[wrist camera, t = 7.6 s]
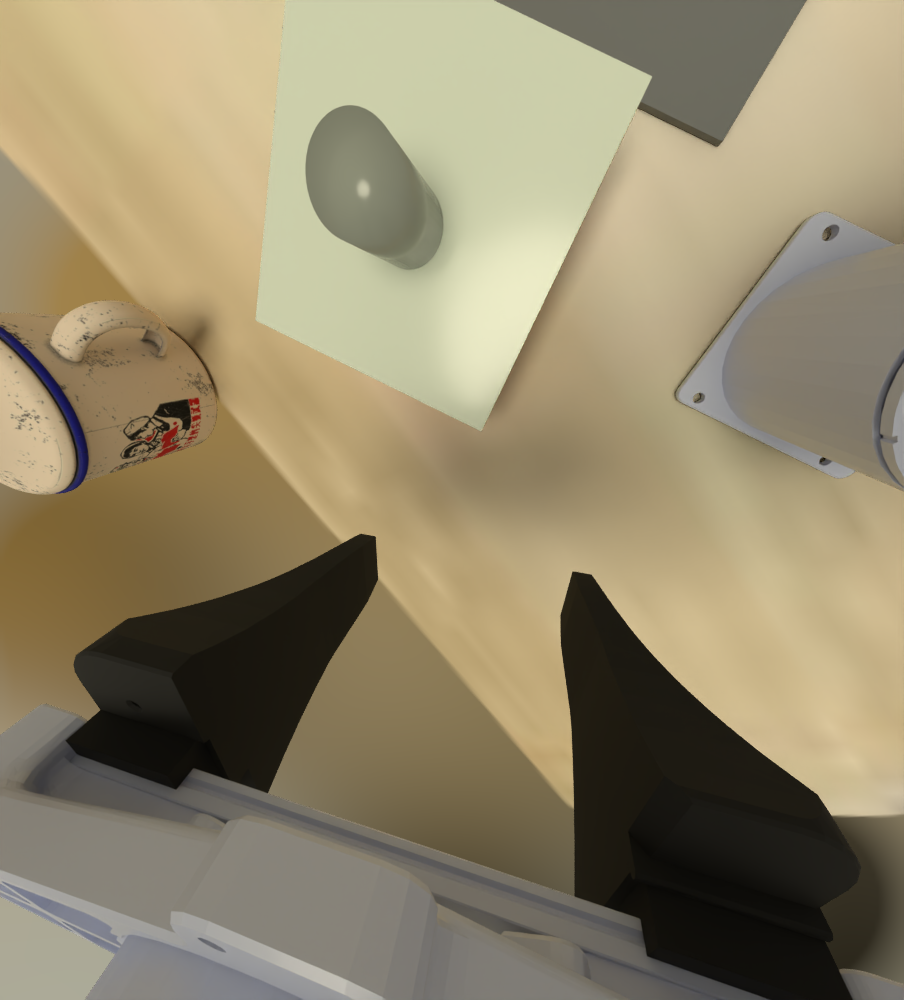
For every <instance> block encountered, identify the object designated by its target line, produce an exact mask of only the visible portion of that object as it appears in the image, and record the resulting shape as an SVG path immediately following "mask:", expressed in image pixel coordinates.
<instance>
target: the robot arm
mask: <svg viewBox="0 0 904 1000" xmlns="http://www.w3.org/2000/svg"><path fill="white" fill-rule="evenodd" d="M827 227H828V228H830V229H831V236H830V238H829V239H828V240H827V241H824V240H823V239H822V234H823V232H824V230H825V229H826V228H827ZM697 393H701V396H702V397H701V399H700V400H699V401H697V402H693V397H694V395H696V394H697ZM676 398H677V400H678V401H679V402H681V403H683V404H685V405H687V406H689V407H691V408H693V409H695V410H697V411H699V412H701V413H703V414H705V415H708V416H710V417H712V418H714V419H716V420H718V421H720V422H722V423H724V424H726V425H728V426H730V427H732V428H734V429H736V430H738V431H740V432H742V433H744V434H746V435H748V436H750V437H752V438H754V439H756V440H758V441H761V442H763V443H765V444H767V445H769V446H771V447H773V448H775V449H777V450H779V451H781V452H783V453H785V454H787V455H789V456H791V457H793V458H795V459H797V460H799V461H801V462H803V463H805V464H807V465H809V466H811V467H814V468H816V469H818V470H820V471H822V472H824V473H826V474H828V475H830V476H832V477H834V478H845V477H848V476H849V475H851V474H853V473H854V472H855V471H857V472H859V473H862V474H864V475H866V476H869V477H871V478H874V479H876V480H878V481H881V482H883V483H885V484H888V485H890V486H892V487H895V488H897V489H899V490H902V491H904V243H902V244H898V245H896V244H894V243H892V242H890V241H888V240H886V239H884V238H881V237H879V236H877V235H875V234H873V233H871V232H869V231H867V230H865V229H863V228H861V227H859V226H857V225H855V224H853V223H851V222H849V221H847V220H844V219H842V218H840V217H838V216H836V215H834V214H832V213H830V212H821V213H817V214H815V215H813V216H811V217H809V218H808V219H806V220H805V221H804V222H803V223H802V224H801V226H800V227H799V228H798V230H797V231H796V232H795V234H794V235H793V236H792V238H791V239H790V240H789V242H788V243H787V244H786V246H785V247H784V248H783V250H782V251H781V252H780V254H779V255H778V256H777V258H776V259H775V260H774V262H773V263H772V264H771V266H770V267H769V268H768V270H767V271H766V272H765V274H764V275H763V276H762V278H761V279H760V280H759V282H758V283H757V284H756V286H755V287H754V288H753V290H752V291H751V292H750V294H749V295H748V296H747V298H746V299H745V300H744V301H743V303H742V304H741V305H740V307H739V308H738V309H737V311H736V312H735V313H734V315H733V316H732V317H731V319H730V320H729V321H728V323H727V324H726V325H725V327H724V328H723V329H722V331H721V332H720V333H719V335H718V336H717V337H716V339H715V340H714V341H713V343H712V344H711V345H710V347H709V348H708V349H707V351H706V352H705V353H704V355H703V356H702V357H701V359H700V360H699V361H698V363H697V364H696V365H695V367H694V368H693V369H692V371H691V372H690V373H689V374H688V376H687V377H686V378H685V380H684V381H683V382H682V384H681V385H680V386H679V388H678V389H677V391H676ZM822 457H824V458H826V459H825V460H824V461H823V462H821V463H819V460H820V459H821V458H822ZM377 580H378V570H377V553H376V537H375V536H370V535H364V534H359V535H357V536H355V537H353V538H351V539H350V540H348V541H346V542H344V543H342V544H340V545H339V546H337V547H335V548H333V549H331V550H330V551H328V552H326V553H324V554H322V555H320V556H318V557H317V558H315V559H313V560H311V561H309V562H307V563H305V564H303V565H301V566H299V567H297V568H295V569H293V570H291V571H289V572H286V573H284V574H282V575H280V576H277V577H275V578H273V579H270V580H268V581H265V582H263V583H260V584H258V585H255V586H252V587H249V588H246V589H244V590H240V591H237V592H234V593H231V594H228V595H225V596H223V597H219V598H216V599H213V600H209V601H206V602H202V603H198V604H194V605H190V606H186V607H182V608H178V609H174V610H169V611H165V612H159V613H154V614H150V615H145V616H140V617H135V618H129V619H127V620H125V621H124V622H122V623H121V624H119V625H118V626H116V627H115V628H114V629H112V630H111V631H110V632H108V633H107V634H105V635H104V636H102V637H101V638H100V639H98V640H97V641H95V642H94V643H93V644H91V645H90V646H88V647H87V648H85V649H84V650H83V651H81V652H80V653H79V654H77V655H76V657H75V661H74V668H75V673H76V674H77V676H78V678H79V680H80V681H81V683H82V684H83V686H84V687H85V688H86V690H87V691H88V693H89V694H90V695H91V697H92V698H93V699H94V701H95V703H96V704H97V705H98V707H99V708H100V711H99V712H98V713H97V714H96V715H95V716H93V717H92V718H91V719H90V720H89V721H87V720H86V719H84V718H83V717H82V716H80V715H78V714H76V713H73V712H70V711H67V710H64V709H61V708H58V707H55V706H52V705H48V704H42V705H39V706H38V707H37V708H35V709H34V710H33V711H31V712H30V713H29V714H28V715H26V716H25V717H24V718H22V719H21V720H19V721H18V722H17V723H15V724H14V725H13V726H11V727H10V728H9V729H7V730H6V731H5V732H3V733H2V734H1V735H0V897H1V898H3V899H6V900H8V901H10V902H12V903H14V904H16V905H18V906H20V907H22V908H24V909H26V910H28V911H30V912H32V913H34V914H36V915H38V916H40V917H42V918H44V919H46V920H48V921H50V922H52V923H54V924H56V925H58V926H60V927H62V928H64V929H66V930H68V931H70V932H72V933H74V934H76V935H78V936H80V937H82V938H84V939H86V940H88V941H90V942H92V943H94V944H96V945H98V946H100V947H102V948H104V949H106V950H108V951H109V952H111V953H113V954H115V956H114V957H113V959H112V960H111V962H110V963H109V965H108V966H107V968H106V969H105V971H104V972H103V973H102V975H101V976H100V978H99V979H98V981H97V982H96V984H95V985H94V987H93V988H92V990H91V991H90V993H89V994H88V996H87V997H86V999H85V1000H904V984H901V983H898V982H895V981H892V980H889V979H886V978H883V977H880V976H877V975H874V974H870V973H867V972H862V971H859V970H852V969H839V970H838V968H837V965H836V963H835V961H834V959H833V957H832V955H831V953H830V951H829V949H828V947H827V945H826V942H830V941H832V940H833V934H832V931H831V929H830V927H829V925H828V924H827V921H826V919H825V917H824V916H823V913H822V911H821V909H820V907H821V906H823V905H824V904H826V903H828V902H829V901H831V900H832V899H834V898H836V897H838V896H839V895H841V894H843V893H844V892H846V891H848V890H849V889H850V888H851V887H852V886H853V885H854V884H855V883H856V882H857V881H858V878H859V875H860V870H861V866H860V864H859V862H858V859H857V857H856V855H855V854H854V852H853V850H852V849H851V847H850V846H849V844H848V842H847V841H846V839H845V837H844V835H843V834H842V832H841V831H840V829H839V827H838V826H837V824H836V822H835V821H834V820H833V818H832V816H831V814H830V813H829V811H828V810H827V808H826V807H825V805H824V804H823V802H822V801H821V799H820V798H819V796H818V795H817V794H816V793H814V792H813V791H812V790H810V789H809V788H808V787H806V786H805V785H804V784H802V783H801V782H800V781H798V780H797V779H795V778H794V777H793V776H791V775H790V774H789V773H787V772H786V771H785V770H783V769H782V768H781V767H779V766H778V765H777V764H775V763H774V762H773V761H771V760H770V759H768V758H767V757H766V756H764V755H763V754H762V753H760V752H759V751H758V750H757V749H755V748H754V747H753V746H752V745H750V744H749V743H748V742H747V741H746V740H744V739H743V738H742V737H741V736H739V735H738V734H737V733H736V732H734V731H733V730H732V729H731V728H729V727H728V726H727V725H726V724H725V723H724V722H722V721H721V720H720V719H719V718H718V717H717V716H715V715H714V714H713V713H712V712H711V711H710V710H708V709H707V708H706V707H705V706H704V705H703V704H702V703H701V702H700V701H699V700H698V699H696V698H695V697H694V696H693V695H692V694H691V693H690V692H689V691H688V690H687V689H686V688H684V687H683V686H682V685H681V684H680V683H679V682H678V681H677V680H676V679H675V678H674V677H673V676H672V675H671V674H670V673H669V672H668V671H667V670H666V668H665V667H664V666H663V665H662V664H661V663H660V662H659V661H658V660H657V659H656V658H655V657H654V656H653V655H652V654H651V653H650V651H649V650H648V649H647V648H646V647H645V646H644V644H643V643H642V642H641V641H640V640H639V639H638V637H637V636H636V635H635V634H634V633H633V631H632V630H631V629H630V628H629V626H628V625H627V624H626V622H625V621H624V620H623V618H622V617H621V616H620V614H619V613H618V612H617V610H616V609H615V608H614V606H613V605H612V603H611V602H610V601H609V599H608V598H607V596H606V595H605V593H604V592H603V591H602V589H601V588H600V586H599V585H598V583H597V582H596V580H595V579H594V578H593V576H592V575H590V574H585V573H579V572H572V576H571V579H570V583H569V587H568V590H567V594H566V598H565V601H564V605H563V608H562V612H561V648H562V656H563V663H564V671H565V678H566V685H567V692H568V699H569V707H570V716H571V727H572V750H573V781H574V833H575V897H574V896H571V895H568V894H565V893H562V892H559V891H556V890H553V889H550V888H547V887H544V886H541V885H538V884H535V883H532V882H529V881H527V880H524V879H521V878H518V877H515V876H512V875H509V874H506V873H503V872H500V871H497V870H494V869H491V868H488V867H485V866H482V865H479V864H476V863H473V862H470V861H467V860H464V859H461V858H458V857H455V856H452V855H449V854H446V853H443V852H440V851H437V850H434V849H432V848H429V847H426V846H423V845H419V844H417V843H414V842H411V841H408V840H405V839H402V838H399V837H396V836H393V835H390V834H387V833H384V832H381V831H378V830H375V829H372V828H369V827H366V826H363V825H360V824H357V823H354V822H351V821H349V820H346V819H343V818H339V817H337V816H334V815H330V814H328V813H325V812H322V811H319V810H316V809H313V808H310V807H307V806H304V805H301V804H298V803H295V802H292V801H289V800H286V799H283V798H280V797H277V796H274V795H271V794H268V791H269V789H270V787H271V785H272V782H273V780H274V777H275V775H276V773H277V770H278V768H279V766H280V763H281V761H282V758H283V756H284V754H285V752H286V750H287V747H288V745H289V743H290V741H291V739H292V736H293V734H294V732H295V730H296V728H297V725H298V723H299V721H300V719H301V716H302V715H303V713H304V711H305V709H306V706H307V704H308V702H309V700H310V698H311V696H312V694H313V692H314V690H315V688H316V686H317V684H318V682H319V680H320V678H321V677H322V675H323V673H324V671H325V669H326V667H327V665H328V663H329V661H330V660H331V658H332V656H333V655H334V653H335V651H336V650H337V648H338V647H339V645H340V644H341V642H342V641H343V639H344V637H345V636H346V634H347V633H348V631H349V630H350V628H351V627H352V625H353V624H354V622H355V621H356V619H357V617H358V616H359V614H360V613H361V611H362V610H363V608H364V606H365V605H366V603H367V602H368V599H369V597H370V595H371V593H372V591H373V589H374V587H375V585H376V582H377ZM825 941H826V942H825Z"/></svg>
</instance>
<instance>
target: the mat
mask: <svg viewBox="0 0 904 1000" xmlns="http://www.w3.org/2000/svg"><path fill="white" fill-rule="evenodd" d="M494 1H496V2H498V3H500V4H503V5H505V6H507V7H509V8H511V9H513V10H515V11H517V12H519V13H521V14H523V15H525V16H528V17H530V18H532V19H534V20H536V21H538V22H540V23H542V24H544V25H546V26H548V27H550V28H553V29H555V30H557V31H559V32H561V33H563V34H565V35H567V36H569V37H571V38H573V39H575V40H578V41H580V42H582V43H584V44H586V45H588V46H590V47H592V48H594V49H596V50H598V51H600V52H602V53H605V54H607V55H609V56H611V57H613V58H615V59H617V60H619V61H621V62H623V63H625V64H627V65H630V66H632V67H634V68H636V69H638V70H640V71H642V72H644V73H646V74H648V75H650V76H652V78H651V81H650V83H649V85H648V87H647V90H646V92H645V94H644V96H643V98H642V100H641V102H640V104H639V106H638V108H639V109H641V110H643V111H646V112H648V113H650V114H652V115H654V116H656V117H658V118H660V119H662V120H664V121H666V122H668V123H670V124H672V125H674V126H676V127H678V128H680V129H683V130H685V131H687V132H689V133H691V134H693V135H695V136H697V137H699V138H701V139H703V140H705V141H707V142H709V143H711V144H713V145H715V146H717V147H718V145H719V144H720V143H721V142H722V141H723V140H724V138H725V136H726V135H727V133H728V131H729V130H730V128H731V126H732V125H733V123H734V121H735V120H736V118H737V116H738V114H739V113H740V111H741V109H742V108H743V106H744V104H745V103H746V101H747V99H748V98H749V96H750V94H751V93H752V91H753V89H754V88H755V86H756V84H757V83H758V81H759V79H760V78H761V76H762V74H763V73H764V71H765V69H766V67H767V66H768V64H769V62H770V61H771V59H772V57H773V56H774V54H775V52H776V51H777V49H778V47H779V46H780V44H781V42H782V41H783V39H784V37H785V36H786V34H787V32H788V31H789V29H790V27H791V26H792V24H793V22H794V20H795V19H796V17H797V15H798V14H799V12H800V10H801V9H802V7H803V5H804V4H805V2H806V0H494Z"/></svg>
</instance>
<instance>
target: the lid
mask: <svg viewBox="0 0 904 1000" xmlns="http://www.w3.org/2000/svg"><path fill="white" fill-rule="evenodd" d="M651 78H652V76H650V75H648V74H646V73H644V72H642V71H640V70H638V69H636V68H634V67H632V66H630V65H627V64H625V63H623V62H621V61H619V60H617V59H615V58H613V57H611V56H609V55H607V54H605V53H602V52H600V51H598V50H596V49H594V48H592V47H590V46H588V45H586V44H584V43H582V42H580V41H578V40H575V39H573V38H571V37H569V36H567V35H565V34H563V33H561V32H559V31H557V30H555V29H553V28H550V27H548V26H546V25H544V24H542V23H540V22H538V21H536V20H534V19H532V18H530V17H528V16H525V15H523V14H521V13H519V12H517V11H515V10H513V9H511V8H509V7H507V6H505V5H503V4H500V3H498V2H496V1H494V0H285V10H284V20H283V31H282V42H281V52H280V63H279V74H278V85H277V95H276V106H275V117H274V127H273V138H272V149H271V160H270V170H269V181H268V192H267V203H266V213H265V224H264V235H263V245H262V256H261V267H260V278H259V288H258V299H257V310H256V321H258V322H260V323H262V324H264V325H266V326H268V327H270V328H272V329H274V330H276V331H278V332H280V333H282V334H284V335H286V336H288V337H290V338H292V339H294V340H296V341H298V342H300V343H303V344H305V345H307V346H309V347H311V348H313V349H315V350H317V351H319V352H321V353H323V354H325V355H327V356H329V357H331V358H333V359H335V360H337V361H339V362H341V363H343V364H345V365H347V366H349V367H351V368H353V369H355V370H357V371H359V372H361V373H363V374H365V375H367V376H370V377H372V378H374V379H376V380H378V381H380V382H382V383H384V384H386V385H388V386H390V387H392V388H394V389H396V390H398V391H400V392H402V393H404V394H406V395H408V396H410V397H412V398H414V399H416V400H418V401H420V402H422V403H424V404H426V405H428V406H430V407H432V408H434V409H437V410H439V411H441V412H443V413H445V414H447V415H449V416H451V417H453V418H455V419H457V420H459V421H461V422H463V423H465V424H467V425H469V426H471V427H473V428H475V429H477V430H479V431H482V429H483V428H484V425H485V423H486V421H487V419H488V417H489V415H490V413H491V411H492V409H493V407H494V405H495V403H496V401H497V399H498V396H499V394H500V392H501V390H502V388H503V386H504V384H505V382H506V380H507V378H508V376H509V374H510V372H511V370H512V367H513V365H514V363H515V361H516V359H517V357H518V355H519V353H520V351H521V349H522V347H523V345H524V343H525V341H526V338H527V336H528V334H529V332H530V330H531V328H532V326H533V324H534V322H535V320H536V318H537V316H538V314H539V312H540V309H541V307H542V305H543V303H544V301H545V299H546V297H547V295H548V293H549V291H550V289H551V287H552V285H553V283H554V280H555V278H556V276H557V274H558V272H559V270H560V268H561V266H562V264H563V262H564V260H565V258H566V256H567V254H568V251H569V249H570V247H571V245H572V243H573V241H574V239H575V237H576V235H577V233H578V231H579V229H580V227H581V225H582V222H583V220H584V218H585V216H586V214H587V212H588V210H589V208H590V206H591V204H592V202H593V200H594V198H595V196H596V193H597V191H598V189H599V187H600V185H601V183H602V181H603V179H604V177H605V175H606V173H607V171H608V169H609V167H610V164H611V162H612V160H613V158H614V156H615V154H616V152H617V150H618V148H619V146H620V144H621V142H622V140H623V138H624V135H625V133H626V131H627V129H628V127H629V125H630V123H631V121H632V119H633V117H634V115H635V113H636V111H637V108H638V106H639V104H640V102H641V100H642V98H643V96H644V94H645V92H646V90H647V87H648V85H649V83H650V81H651Z"/></svg>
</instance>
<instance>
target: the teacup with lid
mask: <svg viewBox="0 0 904 1000" xmlns="http://www.w3.org/2000/svg"><path fill="white" fill-rule="evenodd" d="M216 418H217V401H216V396H215V391H214V388H213V385H212V382H211V380H210V378H209V375H208V373H207V371H206V370H205V368H204V366H203V364H202V363H201V361H200V360H199V358H198V357H197V356H196V354H195V353H194V352H193V351H192V349H191V348H190V347H189V346H188V345H187V344H186V343H185V342H184V341H183V340H182V339H181V338H179V337H178V336H177V335H176V334H175V333H173V332H172V331H170V330H169V329H168V328H167V327H166V325H165V324H164V323H163V322H162V321H161V320H160V319H159V317H158V316H156V315H155V314H154V313H153V312H151V311H150V310H148V309H146V308H144V307H142V306H139V305H136V304H133V303H129V302H123V301H110V300H108V301H97V302H92V303H88V304H85V305H83V306H80V307H78V308H76V309H74V310H72V311H70V312H69V313H67V314H66V315H47V314H21V313H0V482H1V483H3V484H5V485H7V486H9V487H12V488H14V489H17V490H20V491H24V492H28V493H34V494H53V493H65V492H68V491H71V490H74V489H75V488H77V487H78V486H79V485H80V484H81V483H82V482H84V481H87V480H90V479H93V478H96V477H99V476H103V475H106V474H109V473H112V472H114V471H118V470H121V469H124V468H127V467H130V466H133V465H136V464H139V463H143V462H145V461H149V460H152V459H155V458H158V457H161V456H164V455H167V454H170V453H173V452H176V451H179V450H183V449H186V448H189V447H192V446H195V445H197V444H200V443H201V442H203V441H204V440H206V439H207V438H208V437H209V435H210V434H211V432H212V430H213V429H214V426H215V423H216Z"/></svg>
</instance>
